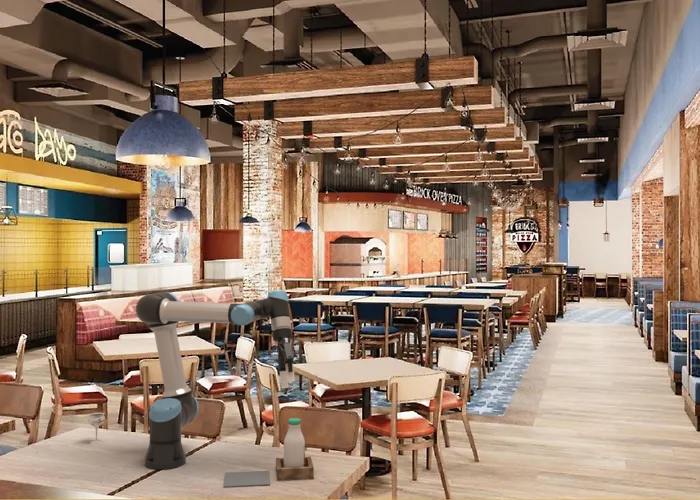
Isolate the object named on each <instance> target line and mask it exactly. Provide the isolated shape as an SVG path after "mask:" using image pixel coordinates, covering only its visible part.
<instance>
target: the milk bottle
mask: <svg viewBox="0 0 700 500" xmlns="http://www.w3.org/2000/svg"><path fill="white" fill-rule="evenodd" d="M301 423H302V420H301V419H300V418H298V417H290V418H289V419H288V421H287V426H288V430H287V433H286V435H285V437H284V441H283V458H284V468H290V467H305V457H306V444H305V443H306V441H305V436H304V435H303V433H302V429H301Z"/></svg>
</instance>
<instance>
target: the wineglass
mask: <svg viewBox="0 0 700 500" xmlns="http://www.w3.org/2000/svg"><path fill="white" fill-rule="evenodd" d="M105 415H106V412H104V411H94V412H90V413H88V414H87V416H88V417H87V422H88V424H89V425H91V427H94V428H95V440H94V441H91V442H90V443H89V444H91V445H100V444H102V443H103V442H104V441H102V440H98V428H99V427H100V426H101V425H103V424H104V422H105V420H106V417H105Z"/></svg>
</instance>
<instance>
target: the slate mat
mask: <svg viewBox="0 0 700 500" xmlns="http://www.w3.org/2000/svg"><path fill="white" fill-rule="evenodd" d="M267 486H269V487H270V486H271V474H270V470H255V471H254V470H253V471H251V470H250V471H233V472H232V471H229V472H224V479H223V488H224V489H225V488H246V487H247V488H249V487H267Z"/></svg>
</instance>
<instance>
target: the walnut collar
mask: <svg viewBox="0 0 700 500" xmlns="http://www.w3.org/2000/svg"><path fill="white" fill-rule="evenodd" d="M314 469H315V467H314V464H313V460H312V456H309V455H308V456H305V467H290V468H284V457H276V458H275V472H276V481H299V480H302V479H304V480H314V478H315V473H314V471H315V470H314Z"/></svg>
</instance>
